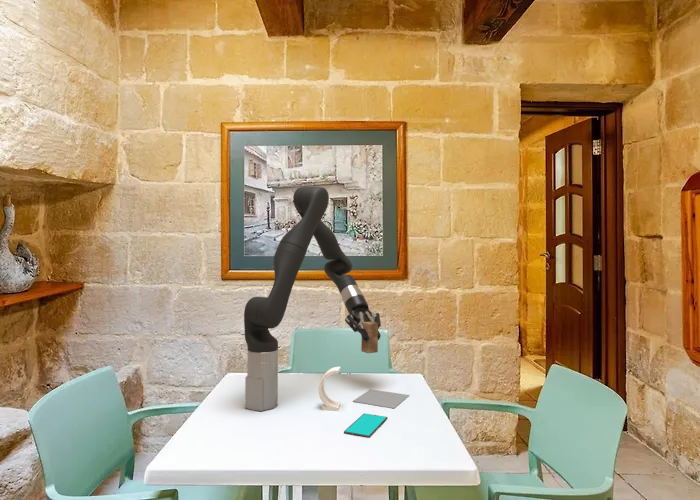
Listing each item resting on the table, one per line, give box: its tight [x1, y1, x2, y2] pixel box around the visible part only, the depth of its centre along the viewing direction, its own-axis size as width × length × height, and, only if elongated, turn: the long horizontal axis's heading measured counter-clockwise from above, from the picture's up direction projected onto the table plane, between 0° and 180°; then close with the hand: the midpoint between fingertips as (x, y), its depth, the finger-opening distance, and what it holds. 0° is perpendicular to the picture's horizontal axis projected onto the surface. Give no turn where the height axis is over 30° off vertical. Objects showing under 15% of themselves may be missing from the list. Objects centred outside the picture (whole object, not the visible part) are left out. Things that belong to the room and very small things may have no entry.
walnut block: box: [360, 322, 379, 354], centre depth 159 cm, size 4×4×10 cm
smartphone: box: [343, 412, 388, 439], centre depth 126 cm, size 7×1×15 cm
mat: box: [352, 388, 410, 409], centre depth 149 cm, size 14×14×1 cm
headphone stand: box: [318, 366, 341, 411], centre depth 140 cm, size 5×6×12 cm
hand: (373, 339), depth 157 cm, fingers closed on walnut block, 4 cm apart
